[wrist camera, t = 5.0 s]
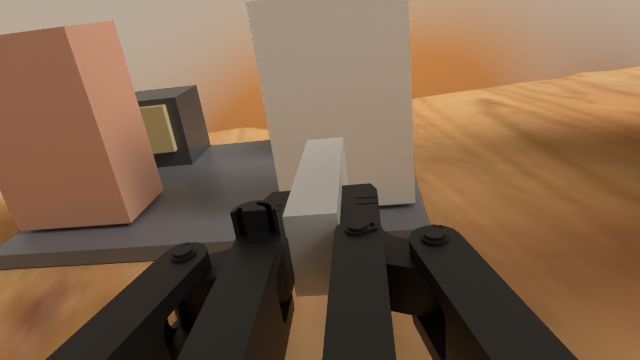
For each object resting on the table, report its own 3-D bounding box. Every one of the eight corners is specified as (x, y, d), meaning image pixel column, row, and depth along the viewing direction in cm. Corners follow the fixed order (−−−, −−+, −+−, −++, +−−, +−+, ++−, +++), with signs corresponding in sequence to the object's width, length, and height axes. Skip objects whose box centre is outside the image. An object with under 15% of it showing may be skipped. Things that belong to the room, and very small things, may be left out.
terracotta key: (66, 197, 33) (1, 35, 28) (163, 189, 32) (113, 20, 27) (19, 230, 28) (-69, 44, 23) (131, 223, 27) (63, 26, 22)
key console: (133, 162, 43) (111, 94, 40) (400, 138, 40) (396, 62, 37) (-9, 269, 26) (-63, 166, 24) (431, 244, 23) (428, 120, 20)
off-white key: (294, 179, 30) (265, 0, 26) (406, 170, 29) (398, -18, 25) (283, 212, 26) (245, 1, 21) (415, 203, 25) (407, -21, 20)
